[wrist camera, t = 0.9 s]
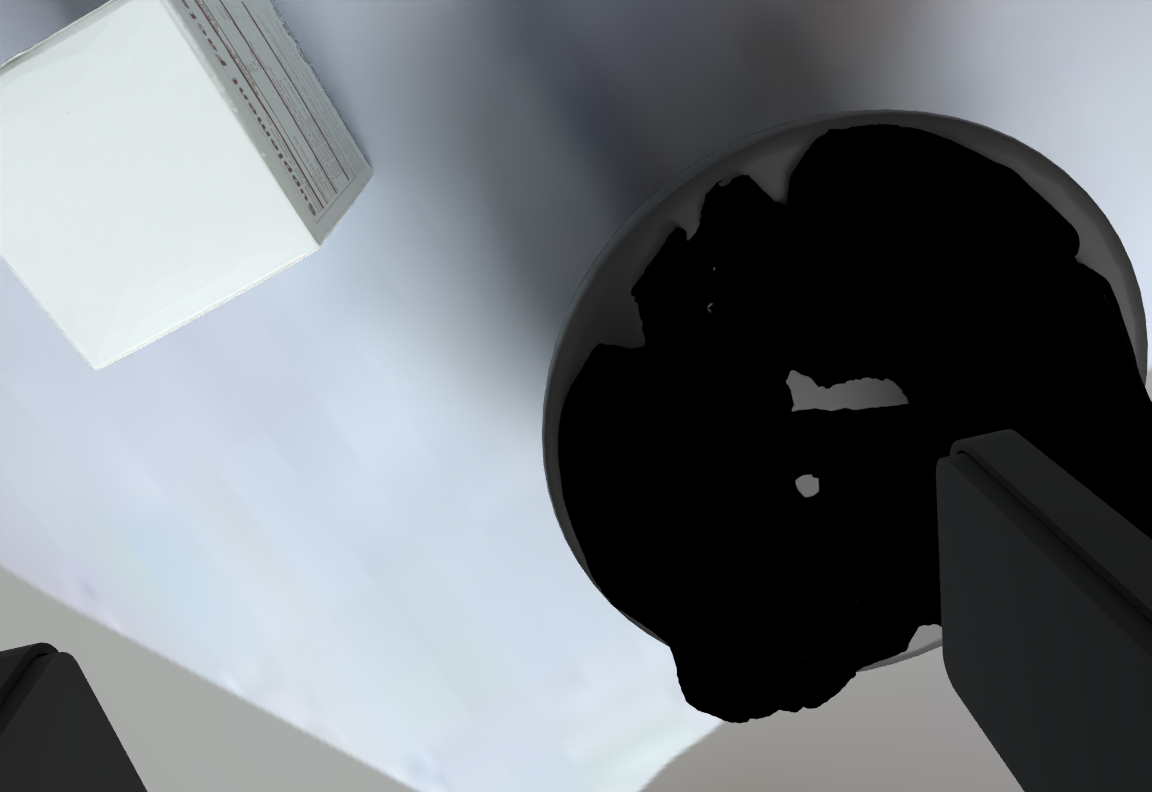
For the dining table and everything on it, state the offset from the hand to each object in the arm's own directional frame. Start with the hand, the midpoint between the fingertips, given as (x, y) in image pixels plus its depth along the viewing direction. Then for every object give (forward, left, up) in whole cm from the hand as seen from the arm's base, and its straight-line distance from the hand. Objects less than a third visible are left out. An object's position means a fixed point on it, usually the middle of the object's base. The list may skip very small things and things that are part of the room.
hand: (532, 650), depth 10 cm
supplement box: (-5, -9, -28) cm, 30 cm away
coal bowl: (+8, +9, -28) cm, 31 cm away
